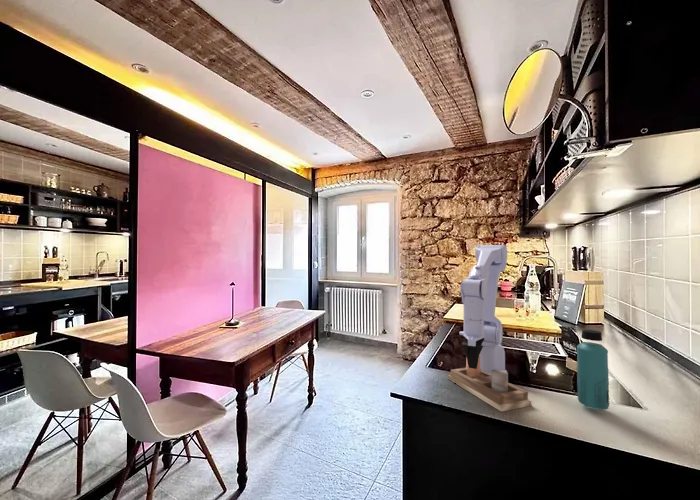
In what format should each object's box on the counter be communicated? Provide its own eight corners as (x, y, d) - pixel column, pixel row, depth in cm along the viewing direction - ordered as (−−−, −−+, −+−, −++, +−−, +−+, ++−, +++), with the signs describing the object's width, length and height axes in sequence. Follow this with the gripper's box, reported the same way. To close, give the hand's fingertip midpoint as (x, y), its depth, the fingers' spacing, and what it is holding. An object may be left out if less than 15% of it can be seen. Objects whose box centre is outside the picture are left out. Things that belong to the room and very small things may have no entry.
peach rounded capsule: (474, 376, 95) (474, 354, 95) (483, 381, 91) (483, 358, 91) (463, 378, 94) (463, 355, 94) (472, 383, 90) (472, 359, 90)
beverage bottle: (612, 419, 73) (611, 335, 73) (577, 411, 76) (577, 331, 77) (607, 407, 78) (606, 329, 79) (575, 401, 82) (574, 326, 82)
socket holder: (474, 375, 99) (474, 353, 99) (531, 405, 79) (531, 377, 80) (448, 379, 96) (448, 356, 96) (501, 411, 76) (501, 382, 76)
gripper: (462, 313, 101) (462, 354, 101) (456, 322, 88) (456, 369, 88) (485, 315, 98) (485, 358, 98) (483, 324, 85) (483, 373, 85)
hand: (473, 363), depth 93 cm, fingers open, 7 cm apart
